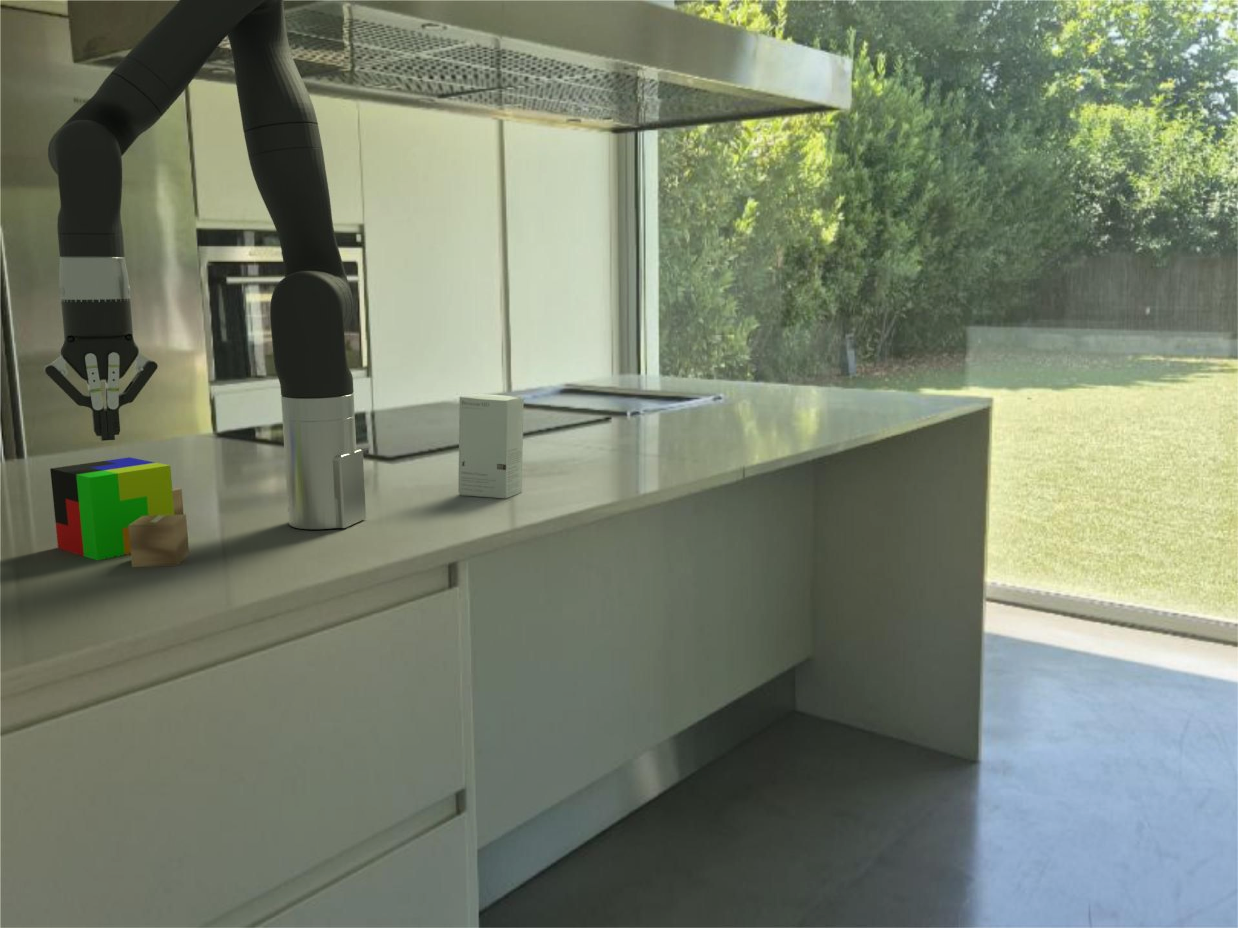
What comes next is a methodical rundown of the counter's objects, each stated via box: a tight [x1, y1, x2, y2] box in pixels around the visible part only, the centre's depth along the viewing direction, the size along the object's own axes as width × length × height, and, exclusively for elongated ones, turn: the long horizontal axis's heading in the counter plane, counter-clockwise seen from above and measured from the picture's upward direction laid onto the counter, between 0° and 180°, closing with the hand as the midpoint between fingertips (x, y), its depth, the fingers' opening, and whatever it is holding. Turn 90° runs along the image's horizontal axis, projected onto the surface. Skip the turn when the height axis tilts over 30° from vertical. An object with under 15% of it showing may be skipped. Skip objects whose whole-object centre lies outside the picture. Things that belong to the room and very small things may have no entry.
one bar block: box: [128, 514, 190, 568], centre depth 132 cm, size 5×5×5 cm
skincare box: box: [458, 393, 525, 499], centre depth 167 cm, size 8×6×15 cm
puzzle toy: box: [50, 456, 174, 561], centre depth 139 cm, size 10×10×10 cm
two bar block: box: [172, 487, 185, 515], centre depth 149 cm, size 5×5×5 cm
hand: (107, 439), depth 137 cm, fingers closed
